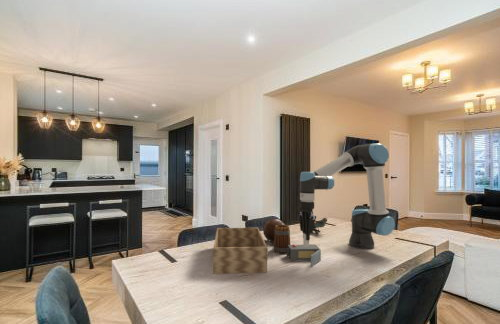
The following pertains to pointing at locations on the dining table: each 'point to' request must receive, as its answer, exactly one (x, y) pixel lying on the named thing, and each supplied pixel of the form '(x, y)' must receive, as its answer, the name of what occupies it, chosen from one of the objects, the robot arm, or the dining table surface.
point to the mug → (281, 238)
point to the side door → (316, 257)
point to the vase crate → (239, 251)
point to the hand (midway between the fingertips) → (306, 245)
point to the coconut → (271, 229)
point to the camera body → (301, 251)
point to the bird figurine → (319, 224)
